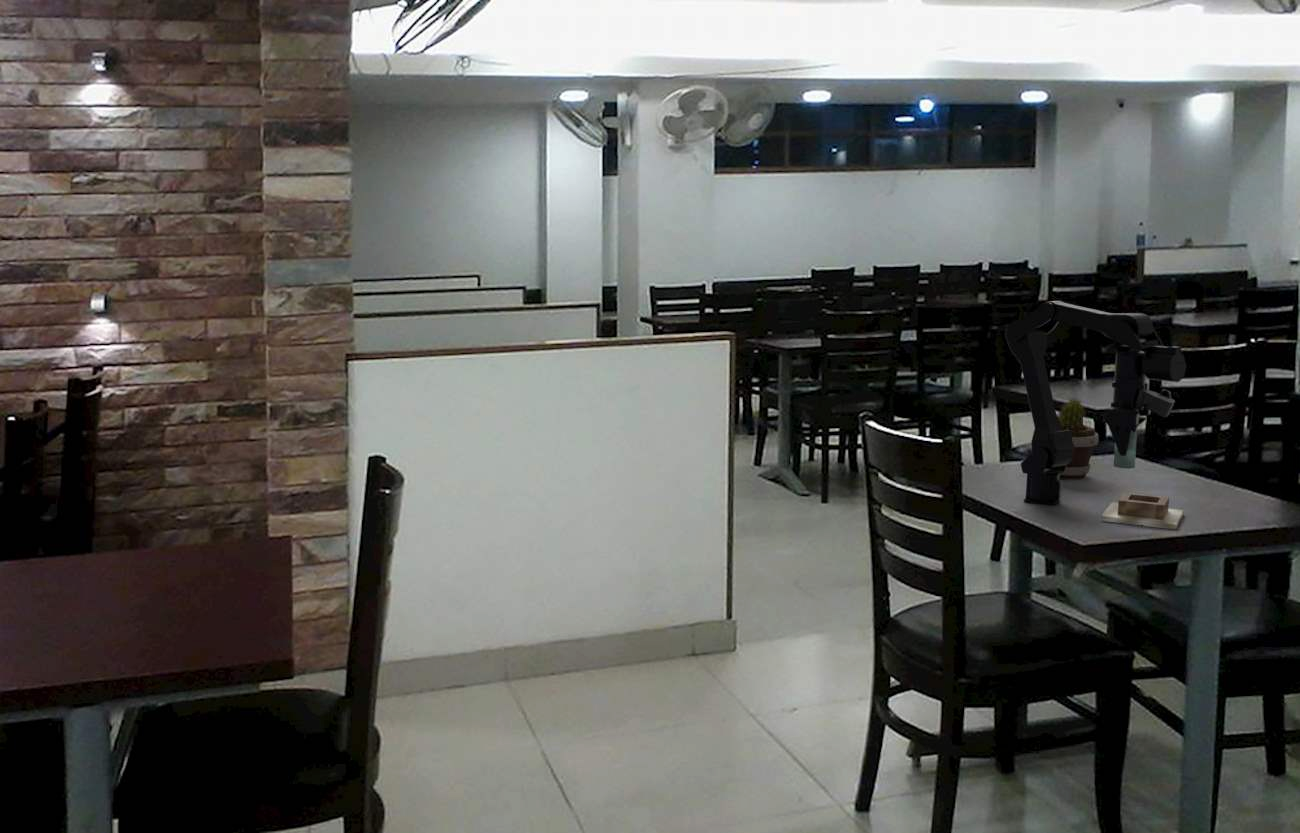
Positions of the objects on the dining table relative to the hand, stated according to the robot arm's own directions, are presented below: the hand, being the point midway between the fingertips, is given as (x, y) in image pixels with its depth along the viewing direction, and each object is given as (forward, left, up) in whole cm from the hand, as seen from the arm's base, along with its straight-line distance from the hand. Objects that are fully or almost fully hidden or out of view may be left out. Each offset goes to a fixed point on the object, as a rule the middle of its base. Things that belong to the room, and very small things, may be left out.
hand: (1124, 454), depth 258 cm
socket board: (+4, +3, -13) cm, 14 cm away
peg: (0, 0, -3) cm, 2 cm away
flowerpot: (-18, +38, -14) cm, 44 cm away
